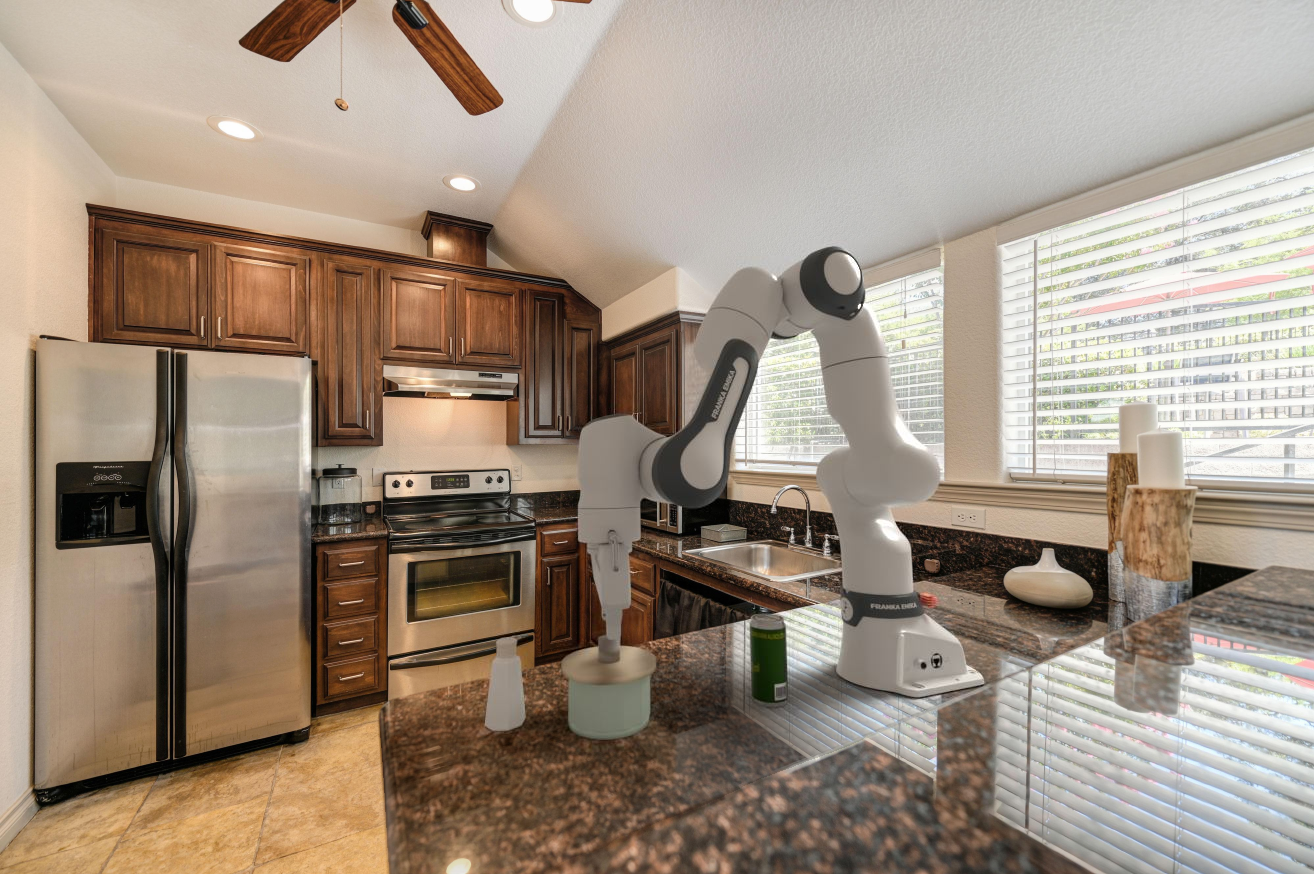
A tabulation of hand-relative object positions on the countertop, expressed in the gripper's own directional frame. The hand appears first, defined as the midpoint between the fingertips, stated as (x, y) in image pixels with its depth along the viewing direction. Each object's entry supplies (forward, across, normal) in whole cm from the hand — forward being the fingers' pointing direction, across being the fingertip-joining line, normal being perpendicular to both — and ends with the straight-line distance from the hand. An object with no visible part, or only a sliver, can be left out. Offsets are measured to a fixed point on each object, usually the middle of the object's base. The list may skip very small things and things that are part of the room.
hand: (610, 628), depth 73 cm
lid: (+5, 0, 0) cm, 5 cm away
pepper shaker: (+12, +2, +14) cm, 19 cm away
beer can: (+13, +2, -24) cm, 27 cm away
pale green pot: (+12, 0, 0) cm, 12 cm away
